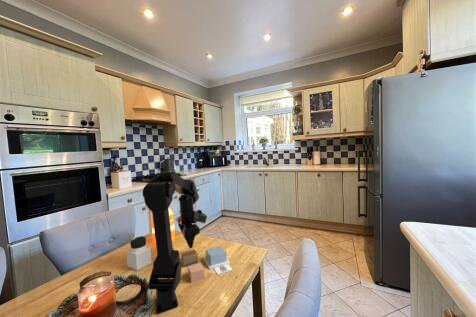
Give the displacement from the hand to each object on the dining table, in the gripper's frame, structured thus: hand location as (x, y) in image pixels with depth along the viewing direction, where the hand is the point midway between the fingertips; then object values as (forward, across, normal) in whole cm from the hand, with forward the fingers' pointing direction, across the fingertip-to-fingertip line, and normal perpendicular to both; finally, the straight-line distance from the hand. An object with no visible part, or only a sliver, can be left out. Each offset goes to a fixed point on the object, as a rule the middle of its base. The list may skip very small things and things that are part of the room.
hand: (188, 243), depth 89 cm
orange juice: (+8, +28, +8) cm, 30 cm away
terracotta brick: (+9, -12, 0) cm, 15 cm away
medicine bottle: (+9, +9, +20) cm, 24 cm away
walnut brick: (+9, 0, 0) cm, 9 cm away
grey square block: (+8, -5, -11) cm, 15 cm away
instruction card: (+8, -12, -11) cm, 19 cm away
